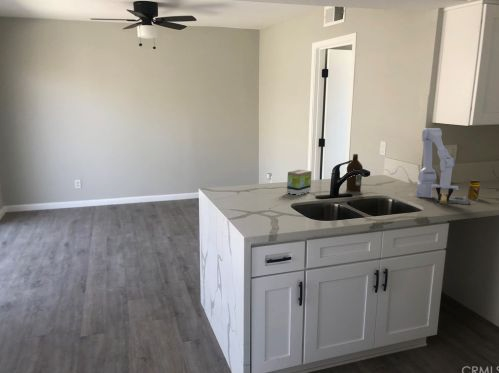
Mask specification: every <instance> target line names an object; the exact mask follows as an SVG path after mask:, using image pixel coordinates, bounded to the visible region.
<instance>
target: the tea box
mask: <svg viewBox="0 0 499 373" xmlns="http://www.w3.org/2000/svg"><path fill="white" fill-rule="evenodd" d="M286 181H287V182H286V194H287V193H291V194H290V195H292V194H296V195H295V196H298V195H299V196H302V195H304V193H305V194H308V193H307V192H309V191H310V192H311V190H312V189H311V188H312V186H311V185H312V171H311V170H306V169H295V170H292V171H287V180H286ZM310 192H309V193H310ZM301 194H302V195H301Z"/></svg>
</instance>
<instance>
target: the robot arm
mask: <svg viewBox="0 0 499 373" xmlns="http://www.w3.org/2000/svg"><path fill="white" fill-rule="evenodd" d="M442 136H443V132H442V129H441V128H439V127H433V128H432V127H431V128H429V127H425V128H424V129H423V130H422V132H421V141H422V142H423V145H422V146H423V151H422V154H423V156H422V157H423V165H422V166H423V168H421V169H420V170H419V171H418V175H417V179H418V181H419V182H417V185H416V192H415V193H416V197H417V198H429V199H432V198H433V189H435V191H436V193H437V194H436V195H438V200H440V194H441V189H443V190H448V192H447V194H448V198H447V201H449V198H450V196H452V194H453V192H454V190H456V191H458V190H459V185H451V182H452V181H451V180H452V172H453V168H455V166H456V165H455V164H456V161H455V159H454V158H453V157H452V156H451V155H450V153H449V150H448V149H447V147H445V146H444V143H443V139H442ZM433 143H434V144H435V146H436V149H437V152H436V153H437V156H438V158H439V160H440V162H439V167H440V171H441V172H440V178H439V184H435V182H436V181H437V178H438V177H437V173H436V172H437V171H436V170H435V169H434V168H433Z"/></svg>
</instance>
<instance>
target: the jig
mask: <svg viewBox="0 0 499 373" xmlns="http://www.w3.org/2000/svg"><path fill="white" fill-rule="evenodd" d="M467 197H468V196H466V197H464V196H453V195H451V196H450V198H449V201H447V204H456V203H457V204H459V205H466V206H468V205H469V203H470V202H469V201H470V200H469V199H468V198H467ZM439 201H440V200H438V194H435V202H436V203H437V202H438V203H439Z"/></svg>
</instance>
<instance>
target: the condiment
mask: <svg viewBox="0 0 499 373" xmlns="http://www.w3.org/2000/svg"><path fill="white" fill-rule="evenodd" d="M469 181H470V182H469V184H468V192H467V196H465V195H464V196H463V197H468V200H470V199H472V200H473V201H478V200H477V199H478V198H479V193H480V180H479V179H470V180H469ZM472 200H471V201H472Z"/></svg>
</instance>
